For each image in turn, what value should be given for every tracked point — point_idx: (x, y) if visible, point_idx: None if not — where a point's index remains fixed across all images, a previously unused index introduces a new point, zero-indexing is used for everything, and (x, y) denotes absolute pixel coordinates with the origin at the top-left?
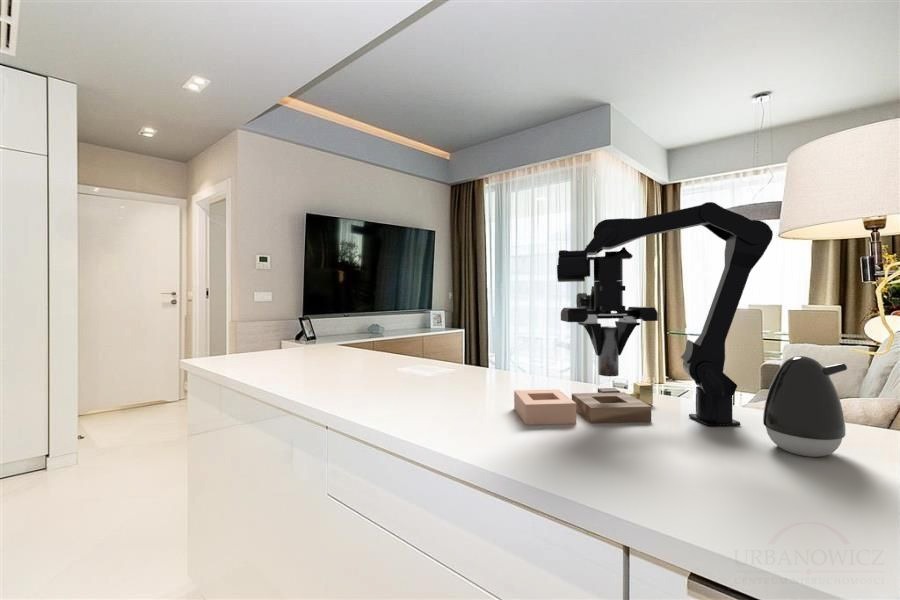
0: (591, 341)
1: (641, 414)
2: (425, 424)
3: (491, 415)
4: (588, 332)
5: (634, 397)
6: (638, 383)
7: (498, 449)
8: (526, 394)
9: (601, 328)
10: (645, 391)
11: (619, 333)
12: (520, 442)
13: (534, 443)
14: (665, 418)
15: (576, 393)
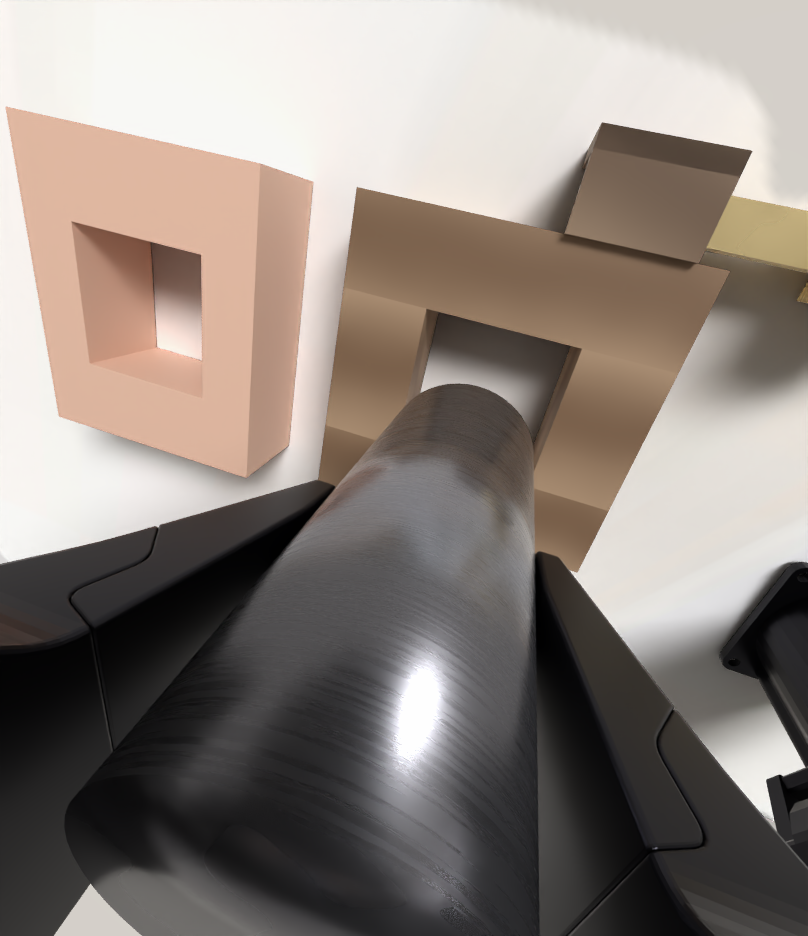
0: (184, 519)
1: None
2: None
3: (14, 229)
4: (5, 591)
5: (806, 272)
6: None
7: (52, 529)
8: (68, 241)
9: (116, 873)
10: None
11: (569, 861)
12: (99, 514)
13: (130, 532)
14: (671, 528)
15: (384, 199)
